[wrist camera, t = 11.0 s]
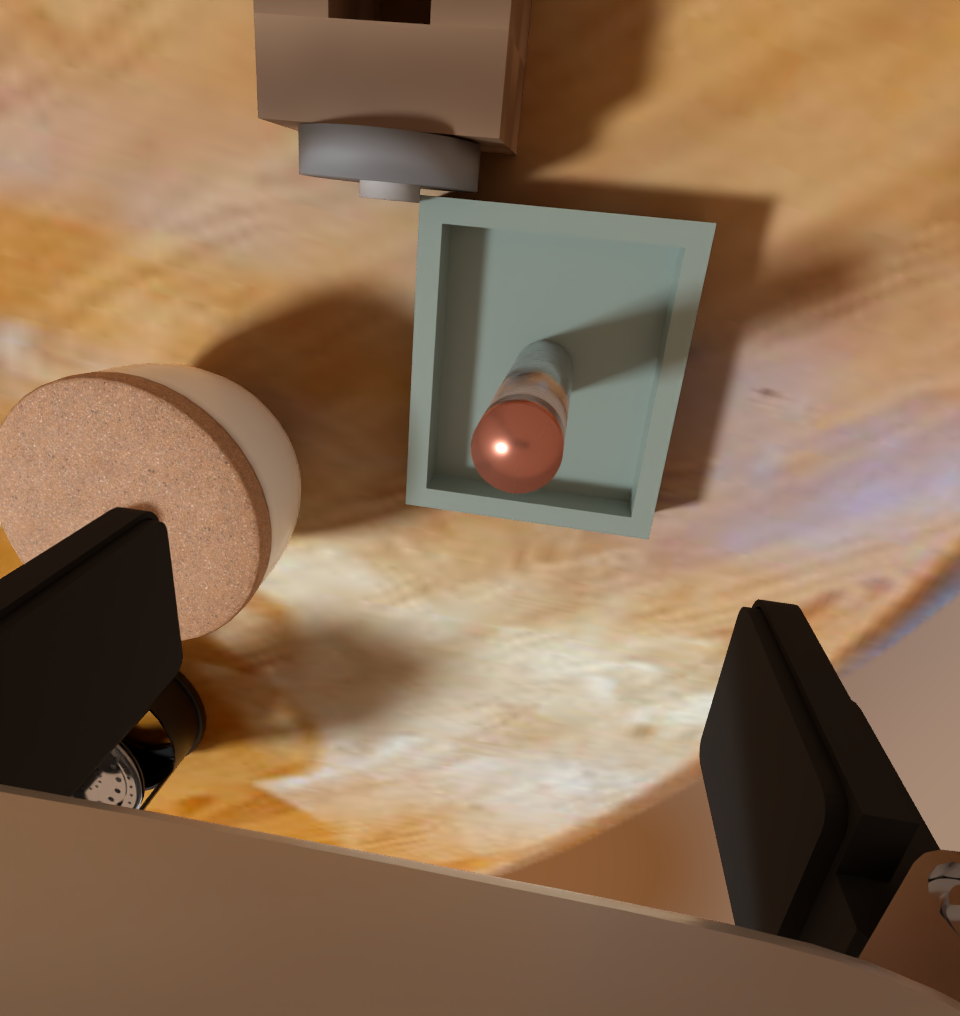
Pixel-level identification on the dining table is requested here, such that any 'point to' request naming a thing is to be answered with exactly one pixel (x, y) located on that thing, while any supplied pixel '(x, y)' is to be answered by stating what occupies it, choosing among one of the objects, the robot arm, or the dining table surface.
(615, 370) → the tray
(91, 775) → the french press
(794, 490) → the dining table surface
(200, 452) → the lidded bowl
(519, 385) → the lock pin
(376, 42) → the block
